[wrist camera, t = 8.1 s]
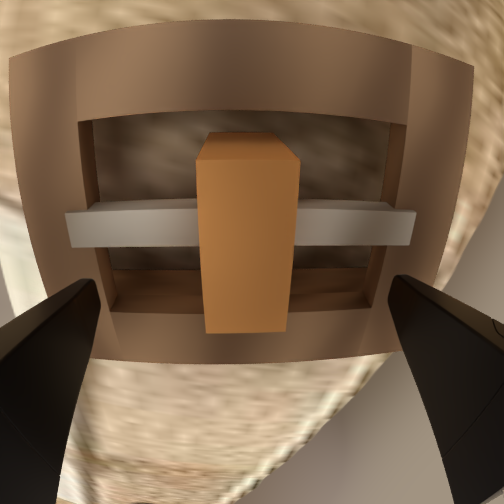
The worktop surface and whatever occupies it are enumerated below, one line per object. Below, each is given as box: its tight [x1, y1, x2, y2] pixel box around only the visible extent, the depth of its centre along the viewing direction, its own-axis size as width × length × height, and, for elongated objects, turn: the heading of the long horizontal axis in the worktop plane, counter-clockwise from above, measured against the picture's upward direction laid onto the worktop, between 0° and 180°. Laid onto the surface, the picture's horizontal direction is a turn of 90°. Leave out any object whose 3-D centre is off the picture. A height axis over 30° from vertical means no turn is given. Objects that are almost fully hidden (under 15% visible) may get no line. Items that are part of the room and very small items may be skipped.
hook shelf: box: [9, 19, 474, 364], centre depth 16 cm, size 20×16×7 cm
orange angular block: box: [196, 132, 301, 333], centre depth 13 cm, size 3×6×6 cm, turn 179°
